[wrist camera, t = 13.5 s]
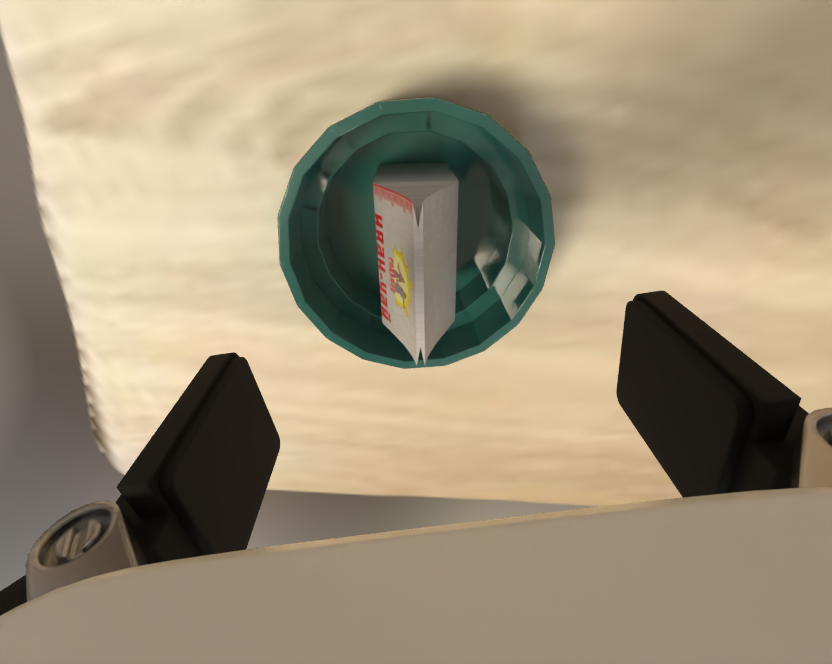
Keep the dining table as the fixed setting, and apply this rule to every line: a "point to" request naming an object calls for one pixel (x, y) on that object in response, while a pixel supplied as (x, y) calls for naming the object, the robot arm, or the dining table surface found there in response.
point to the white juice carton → (417, 251)
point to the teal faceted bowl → (356, 229)
